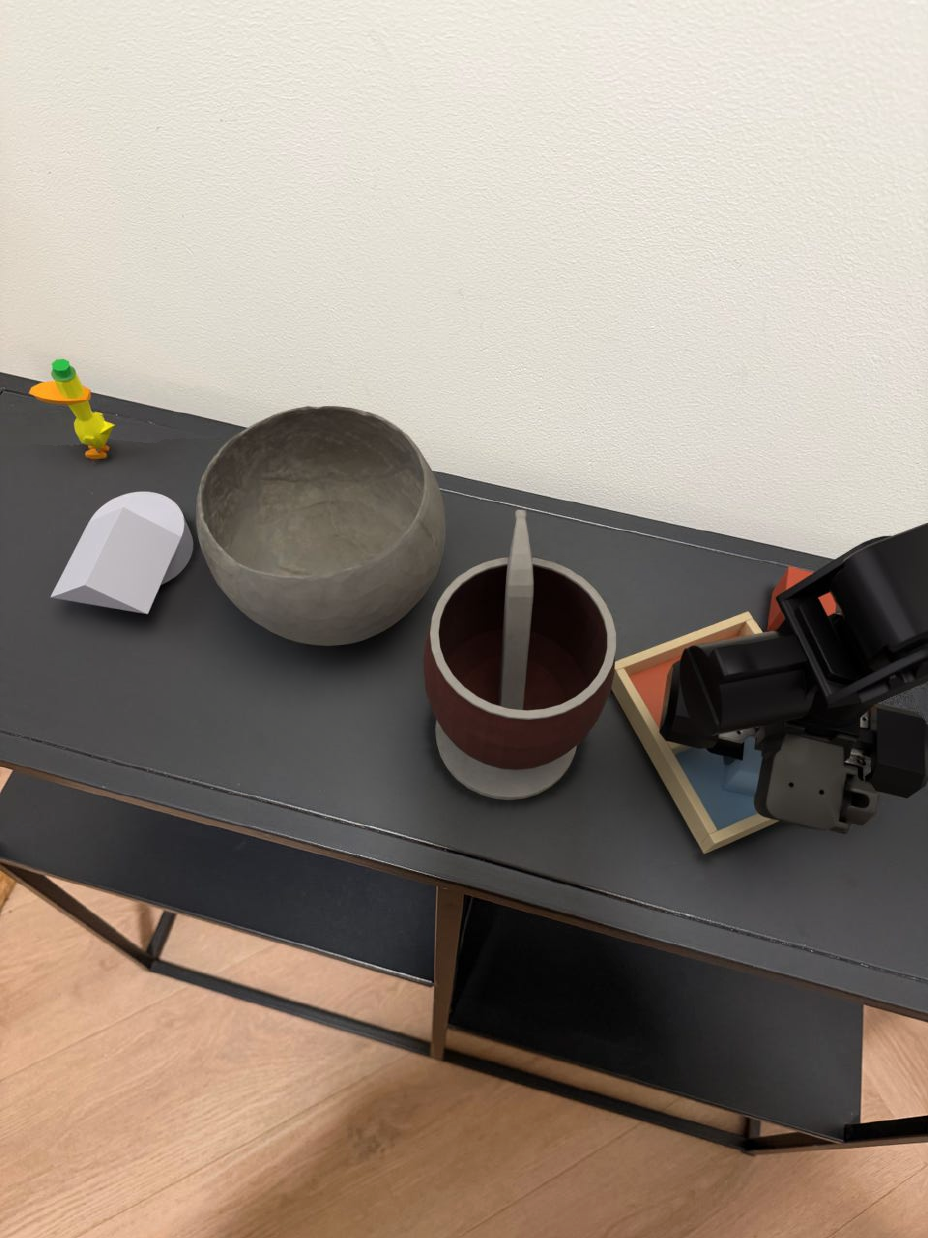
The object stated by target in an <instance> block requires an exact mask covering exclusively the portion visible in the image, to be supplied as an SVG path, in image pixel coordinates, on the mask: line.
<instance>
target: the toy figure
mask: <svg viewBox="0 0 928 1238" xmlns="http://www.w3.org/2000/svg"><path fill="white" fill-rule="evenodd" d="M51 368H52V370H51V373H50V374H51V375H50V376H51V377H52V379H53V380H50V381H49V380H48V381H44V382H43V381H42V382H39V383H37V384H35V385H33V386H31V387H30V390H29V392H28V394H29V395H31V396H33V397H34V398H35V399H36V400H37V401H40V402H44V403H47V404H54V405H64V406H65V405H66V406H68V408H69V409H70V411H71V412H72V414H74V416H75V420H74V422H73V427H74V432H75V434H76V436H77V438H78V440H79V441H80V443H81V444H82V445H87V448H88V450H87V451H85V455H84V456H85V457H86V458H87V459H91V460H100V459H101V460H102V459H106V458H107V455H108V454H107V452H109V450H110V449H111V448H110V446H109V445H107V443H108V440H109V438H110V435H111V433H112V431H113V430H114V428H115V424H114V423H111V422H109V421H107V420H105V417H104V414H103V413H102V412H99V411H94V412H93V411H92V409H91V406H90V402H89V401H90V400H91V398H92V397H91V396H92V393H91V392H92V390H91V389H90V388H88V387H86V386H85V385H83V383H82V382H81V379H80V377H79V376H78V374H77V371H76V368H75V367H73V366H72V365H70V360H68V359H65V358H57V359H55V360H54V361H52V363H51ZM98 448H100V450H99V451H96V449H98Z"/></svg>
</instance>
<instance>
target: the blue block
mask: <svg viewBox="0 0 928 1238" xmlns="http://www.w3.org/2000/svg"><path fill="white" fill-rule="evenodd" d="M757 728H758V727H757ZM754 746H755V738H751V737H748V738H747V739H746V740H745V742H744V754H743V761H741V760H737V759H735V760H734V762H733V763H731V764H730V765H725V770H724V780H723V790H727V791H731V792H735V793H740V794H744V795H748V796H752V797H754V796H755V793H756V789H757V784H758V778H759V773H760V767H761V762H762V756H761V751H758V750H754Z"/></svg>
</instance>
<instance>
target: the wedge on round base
mask: <svg viewBox="0 0 928 1238" xmlns="http://www.w3.org/2000/svg"><path fill="white" fill-rule="evenodd" d="M192 535H193V534H192V533H191V530H190V528H189V525H188V524H187V520H186V519H185V516H184V514H183V511H182V509H181V508H180V507H179V505H178V504H177V503H176V502H175V501H174V500H172V499H171V498H170V497H168V496H166V495H164V494H160V493H158V492H152V491H134V492H129V493H125V494H122V495H119V496H117V497H114V498H112V499H110V500H109V501H107V502H105V503H104V504H103V505H102V506H100V507H99V508H98V509H97V510H96V511H95V513H94V514H93V515H92V516H91V518H90V519H89V521H88V523H87V525H86V527H85V529H84V531H83V533H82V534H81V537H80V538H79V541H78V542H77V544H76V546H75V549H74V550H73V552H72V554H71V556H70V558H69V560H68V561H67V564H66V566H65V568H64V570H63V572H62V573H61V576H60V577H59V579H58V582H57V583H56V586H55V587H54V589H53V591H52V593H51V595H50V598H52V599H55V600H63V601H68V602H73V603H74V602H75V603H81V604H86V605H93V606H96V607H97V606H98V607H102V608H103V607H104V608H109V609H116V610H121V611H128V612H133V613H139V614H146V615H148V614H149V612H150V610H151V608H152V605H153V603H154V601H155V598H156V596H157V594H158V592H159V589H160V587H161V585H164V584H167V583H168V582H170V581H171V580H173V579H174V578H176V577H177V576H178V575H179V574H180V573H182V571H183V570H184V569H185V568H186V566H187V565H188V564H189V562H190V560H191V558H192V556H193V551H194V538H193V536H192Z"/></svg>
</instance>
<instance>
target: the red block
mask: <svg viewBox="0 0 928 1238" xmlns="http://www.w3.org/2000/svg"><path fill="white" fill-rule="evenodd" d="M813 573H814V572H813V571H810V570H805V569H801V568H797V567H794V566H788V567H787V568H786V570H785V572H784V573H783V575H782V577H781V578H780V580H779V581H778V583H777V584H776V586H775V587H774V589H773V591H772V593H771V598H770V607H769V613H768V621H767V629H766V632H769V631H774V630H777V629H778V628H779V627H780V625H781V624H782V622H783V621H784V620H785V618H784V616H783V614H782V612H781V610H780V608H779V605H778V603H777V601H776V596H778V595H779V594H781V593H782V592H784V591H785V590H787V589H789V588H790V587H792V586H793V585H795V584H797V583H798V582H800V581H801V580H803V579H805V578H806V577H808V576H809V575H811V574H813ZM818 598H819V600H820V602H821V604H822V606H823V608H824V610H825V612H826V614H827V616H829V615H831V614H833V613H836V612H837V611H836V610H837V605H836V603H835V601H834V599H833V597H832V595H831V593H827V594H825V595H823V596H821V597H818Z"/></svg>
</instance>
